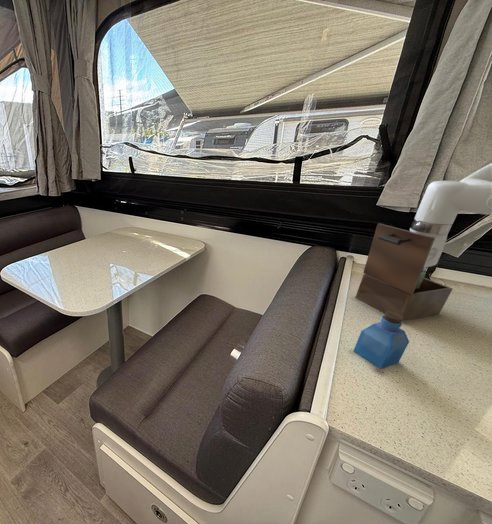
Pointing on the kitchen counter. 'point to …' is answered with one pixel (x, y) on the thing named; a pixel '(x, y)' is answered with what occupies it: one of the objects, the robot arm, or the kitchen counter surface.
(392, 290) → the chest
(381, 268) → the lid
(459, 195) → the robot arm
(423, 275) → the block
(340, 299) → the kitchen counter surface
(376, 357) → the perfume bottle
